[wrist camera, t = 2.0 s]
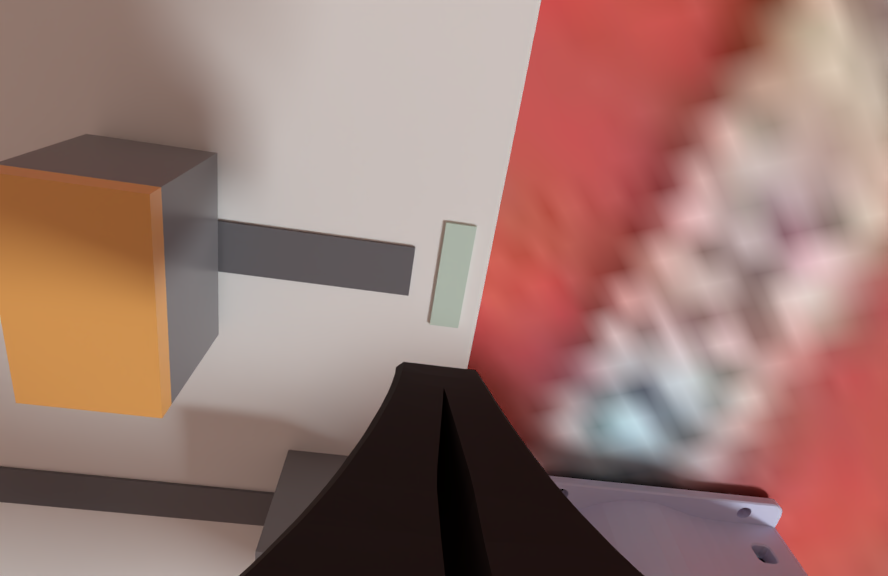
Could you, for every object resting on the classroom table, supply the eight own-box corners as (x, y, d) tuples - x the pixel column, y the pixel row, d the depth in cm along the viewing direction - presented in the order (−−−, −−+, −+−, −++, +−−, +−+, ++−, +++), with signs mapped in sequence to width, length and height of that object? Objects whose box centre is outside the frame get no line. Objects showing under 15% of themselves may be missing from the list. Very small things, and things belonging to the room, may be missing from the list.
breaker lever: (217, 152, 14) (149, 194, 10) (218, 334, 16) (162, 418, 12) (86, 133, 14) (-27, 169, 10) (104, 321, 16) (15, 403, 12)
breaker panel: (528, -1, 15) (584, -16, 9) (413, 593, 24) (409, 756, 18) (-200, -130, 13) (-617, -232, 8) (-27, 556, 22) (-169, 723, 17)
